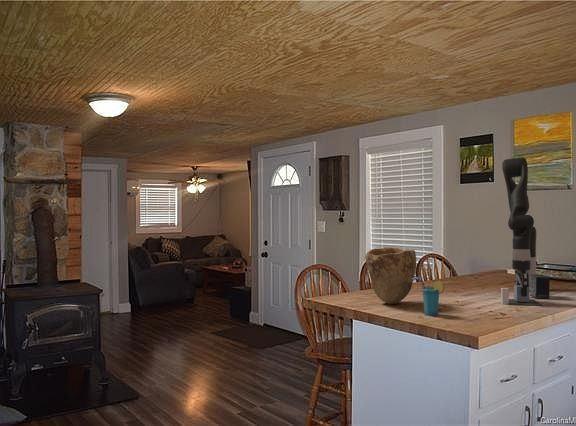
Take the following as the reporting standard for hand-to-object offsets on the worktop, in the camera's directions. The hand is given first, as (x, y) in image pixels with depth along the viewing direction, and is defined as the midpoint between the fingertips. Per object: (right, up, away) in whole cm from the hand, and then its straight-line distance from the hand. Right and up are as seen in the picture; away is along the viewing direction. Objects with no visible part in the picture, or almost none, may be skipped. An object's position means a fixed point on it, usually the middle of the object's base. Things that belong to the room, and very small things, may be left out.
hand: (521, 294), depth 229 cm
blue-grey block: (0, -3, 0) cm, 3 cm away
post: (-9, -4, -2) cm, 10 cm away
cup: (-48, -5, -23) cm, 54 cm away
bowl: (-59, -5, +1) cm, 59 cm away
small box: (+15, -4, +13) cm, 20 cm away
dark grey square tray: (0, -4, 0) cm, 4 cm away
